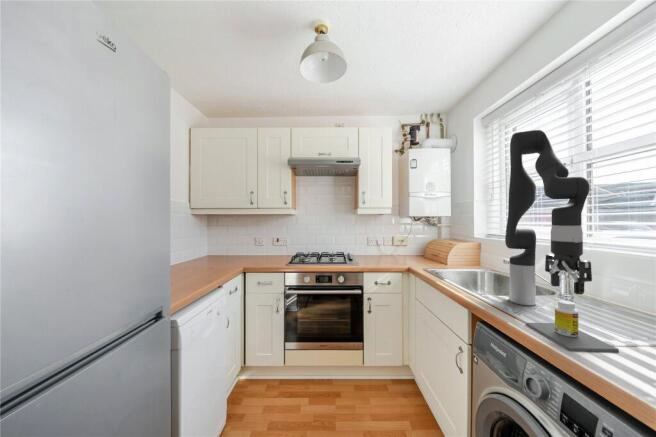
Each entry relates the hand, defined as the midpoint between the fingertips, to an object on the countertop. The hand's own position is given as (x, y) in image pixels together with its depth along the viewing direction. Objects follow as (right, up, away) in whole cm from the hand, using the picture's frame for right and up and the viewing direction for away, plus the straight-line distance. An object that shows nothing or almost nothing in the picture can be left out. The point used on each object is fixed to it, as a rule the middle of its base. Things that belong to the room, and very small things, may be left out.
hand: (566, 289), depth 82 cm
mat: (0, -15, 0) cm, 15 cm away
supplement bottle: (0, -14, 0) cm, 14 cm away
